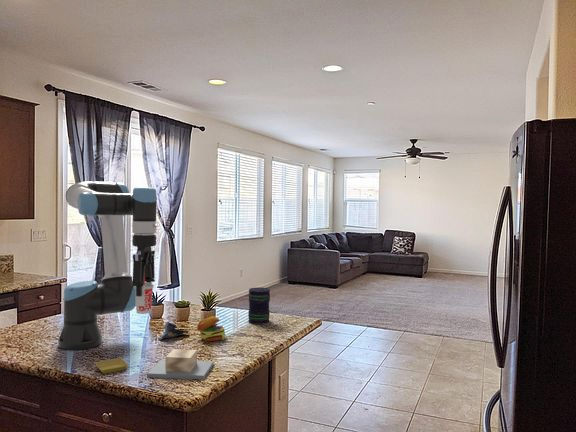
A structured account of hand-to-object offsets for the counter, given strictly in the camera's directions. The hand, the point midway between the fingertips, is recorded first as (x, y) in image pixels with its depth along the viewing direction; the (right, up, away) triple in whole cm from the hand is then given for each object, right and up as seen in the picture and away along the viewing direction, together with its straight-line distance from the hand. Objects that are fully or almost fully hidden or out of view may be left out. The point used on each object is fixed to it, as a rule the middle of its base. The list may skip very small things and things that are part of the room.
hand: (143, 303), depth 155 cm
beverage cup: (0, -3, 0) cm, 3 cm away
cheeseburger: (+17, -21, +32) cm, 42 cm away
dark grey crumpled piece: (+1, -20, +35) cm, 40 cm away
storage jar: (+34, -20, +60) cm, 72 cm away
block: (+13, -20, -4) cm, 24 cm away
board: (+13, -21, -4) cm, 25 cm away
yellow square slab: (-10, -21, -3) cm, 24 cm away
